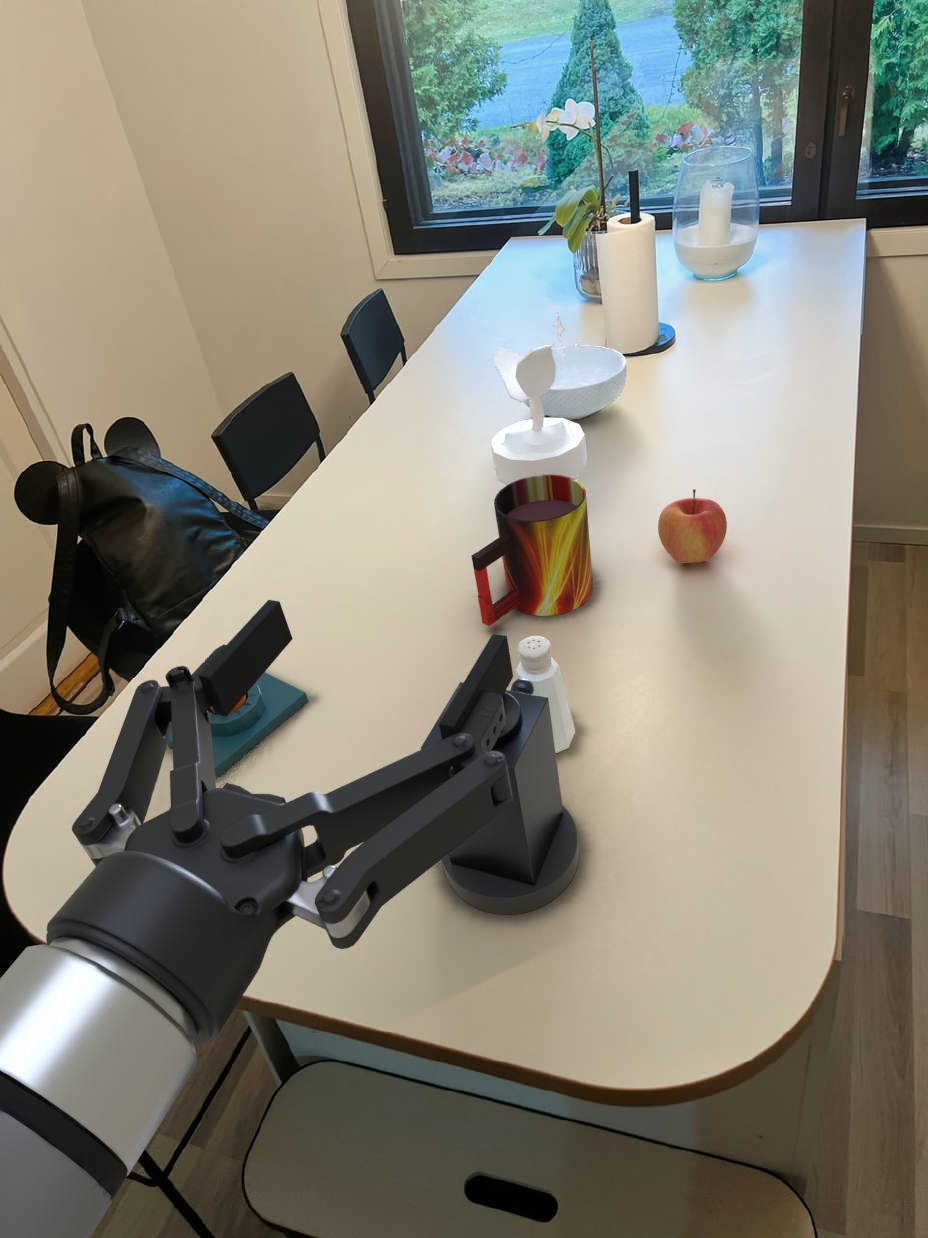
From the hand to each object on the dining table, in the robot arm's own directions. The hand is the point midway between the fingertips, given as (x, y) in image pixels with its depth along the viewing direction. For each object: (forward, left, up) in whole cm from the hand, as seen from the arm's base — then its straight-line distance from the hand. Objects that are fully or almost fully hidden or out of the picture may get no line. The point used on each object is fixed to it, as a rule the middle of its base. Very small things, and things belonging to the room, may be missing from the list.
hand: (386, 635), depth 47 cm
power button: (-6, +36, -27) cm, 46 cm away
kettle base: (+7, +5, -30) cm, 31 cm away
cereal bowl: (+61, +68, -30) cm, 96 cm away
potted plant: (+41, +48, -30) cm, 70 cm away
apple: (+46, +26, -30) cm, 61 cm away
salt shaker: (+17, +14, -30) cm, 37 cm away
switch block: (-6, +36, -30) cm, 47 cm away
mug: (+29, +31, -30) cm, 52 cm away
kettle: (+9, +6, -28) cm, 30 cm away
